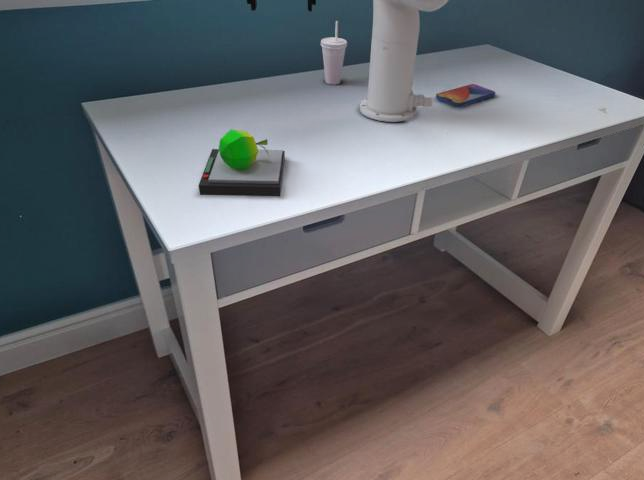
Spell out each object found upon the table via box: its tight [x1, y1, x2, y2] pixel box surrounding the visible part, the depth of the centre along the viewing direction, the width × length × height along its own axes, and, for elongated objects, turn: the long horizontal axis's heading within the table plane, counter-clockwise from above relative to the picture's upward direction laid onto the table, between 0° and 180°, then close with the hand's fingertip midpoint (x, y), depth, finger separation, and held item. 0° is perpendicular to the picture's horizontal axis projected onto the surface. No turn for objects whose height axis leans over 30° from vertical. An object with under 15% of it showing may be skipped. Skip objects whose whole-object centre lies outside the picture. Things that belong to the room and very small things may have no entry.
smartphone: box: [435, 83, 496, 108], centre depth 120 cm, size 7×15×1 cm, turn 131°
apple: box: [218, 128, 270, 169], centre depth 83 cm, size 7×6×9 cm
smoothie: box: [319, 20, 348, 85], centre depth 120 cm, size 6×6×14 cm
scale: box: [198, 148, 286, 198], centre depth 86 cm, size 13×13×2 cm
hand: (282, 9), depth 86 cm, fingers open, 9 cm apart
